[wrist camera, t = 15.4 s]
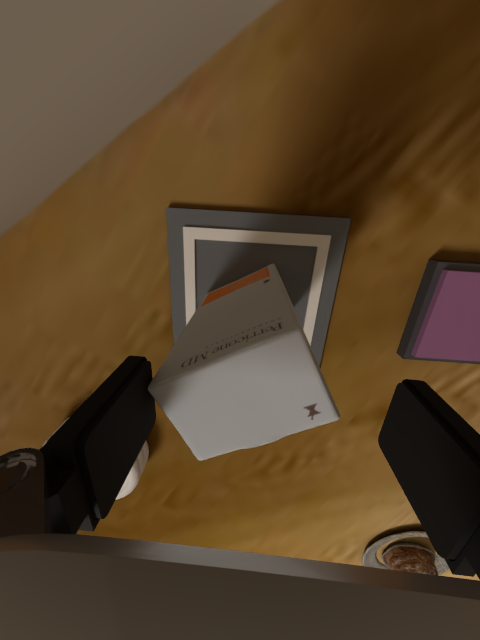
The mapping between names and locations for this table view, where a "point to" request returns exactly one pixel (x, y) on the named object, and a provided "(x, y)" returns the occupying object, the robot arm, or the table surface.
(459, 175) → the table surface
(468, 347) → the ink pad
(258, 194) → the table surface
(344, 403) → the table surface
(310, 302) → the mat
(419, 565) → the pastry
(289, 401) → the skincare box
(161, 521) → the table surface
